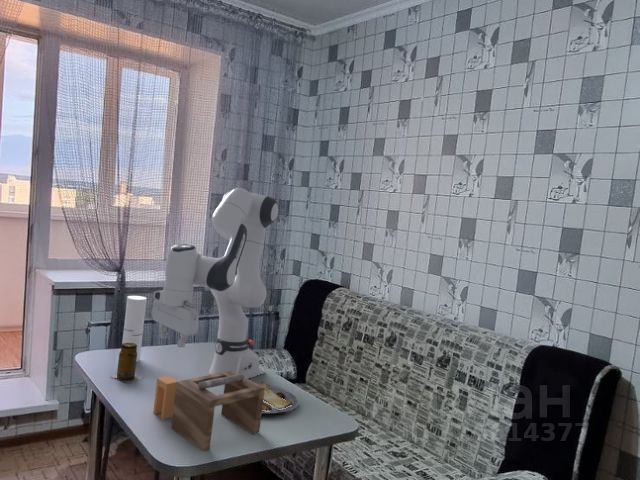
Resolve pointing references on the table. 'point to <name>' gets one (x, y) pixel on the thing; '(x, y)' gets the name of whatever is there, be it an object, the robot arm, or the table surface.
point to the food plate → (278, 399)
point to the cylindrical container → (134, 321)
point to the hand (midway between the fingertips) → (172, 342)
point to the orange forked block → (165, 397)
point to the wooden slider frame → (199, 405)
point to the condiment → (127, 363)
